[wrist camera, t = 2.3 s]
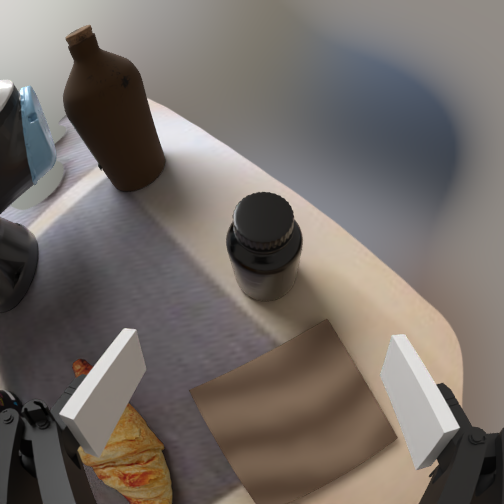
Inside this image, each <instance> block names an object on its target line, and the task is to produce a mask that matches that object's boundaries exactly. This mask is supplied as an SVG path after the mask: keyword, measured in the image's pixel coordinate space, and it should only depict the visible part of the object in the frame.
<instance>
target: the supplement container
mask: <svg viewBox="0 0 504 504" xmlns="http://www.w3.org/2000/svg"><path fill="white" fill-rule="evenodd" d="M9 408H11V409H15V410H16V411H17V412H18V414H19V415H20V417H23V418H25V417H24V416H23V414H22V413H21V412H22V408H23V406H22V404H21V402H20V400H19V399H18V397H17V396H16V395H15V394H13V393H12V392H10V391H5V390H0V413H1V412H2V411H3V410H5V409H9Z"/></svg>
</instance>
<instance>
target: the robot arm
mask: <svg viewBox="0 0 504 504" xmlns="http://www.w3.org/2000/svg"><path fill="white" fill-rule="evenodd" d="M55 162H56V149H55V145H54V142H53V139H52V136H51V133H50V130H49V127H48V124H47V121H46V118H45V116H44V113H43V110H42V108H41V105H40V103H39V100H38V98H37V95H36V93H35V92H34V90H33V88H32V87H31V86H26V87H23V88H21V89H20V91H17V89H16V87H15V86H14V84H13V82H12V81H11V80H0V214H1V213H2V212H3V211H4V210H5V209H6V208H7V207H8V206H10V205H11V204H12V203H13V202H14V201H15V200H16V199H17V198H18V197H19V196H21V195H22V194H23V193H24V192H25V191H26V190H28V189H29V188H30V187H31V186H32V185H36V184H37V181H38V180H39V179H40V178H41V177H43V176H44V175H45V174H46V173H47V172H48V171H49V170H51V169H52V167H53V166H54V164H55ZM37 258H38V246H37V241H36V238H35V236H34V235H33V234H32V233H31V232H30V231H29V230H28V229H27V228H26V227H25V226H23V225H21V224H18V223H13V222H10V221H8V220H6V219H4V218H1V217H0V312H6V311H8V310H10V309H12V308H13V307H15V306H16V305H17V304H18V303H19V302H20V300H21V299H22V298H23V296H24V295H25V293H26V292H27V290H28V288H29V286H30V284H31V281H32V279H33V276H34V273H35V269H36V265H37ZM146 370H147V369H146V365H145V361H144V358H143V354H142V350H141V346H140V342H139V338H138V334H137V330H135V329H127V328H124V329H123V330H122V331H121V333H120V334H119V335H118V336H117V338H116V339H115V340H114V341H113V343H112V344H111V345H110V346H109V348H108V349H107V350H106V352H105V353H104V354H103V355H102V357H101V358H100V359H99V361H98V362H97V363H96V364H95V366H94V367H93V368H92V370H91V371H90V372H89V374H88V375H85V374H81V375H80V376H78V377H77V378H75V379H74V380H73V381H72V383H71V384H70V385H69V388H67V389H66V390H65V392H64V393H63V394H62V396H61V397H60V398H59V399H58V401H57V402H56V403H55V405H54V406H53V407H52V409H51V410H49V408H48V406H47V405H46V403H45V402H44V401H42V400H39V399H33V400H31V401H28V402H27V403H26V404H25V405H24V406H23V408H22V412H21V413H22V414H23V416H24V417H25V418H23V417H20V415H19V414H18V412H17V411H16V410H15V409H11V408H9V409H5V410H3V411H2V412H1V413H0V504H97V503H96V501H95V498H94V496H93V493H92V490H91V488H90V485H89V482H88V479H87V476H86V473H85V470H84V467H83V464H82V460H81V457H80V454H79V452H78V451H77V450H78V449H79V447H80V446H81V448H82V449H83V450H84V452H85V453H87V454H90V455H92V456H95V457H98V458H100V456H101V454H102V452H103V450H104V448H105V446H106V444H107V442H108V440H109V438H110V436H111V434H112V432H113V431H114V429H115V427H116V425H117V423H118V421H119V419H120V417H121V415H122V413H123V412H124V410H125V408H126V406H127V404H128V402H129V400H130V399H131V397H132V395H133V393H134V391H135V389H136V388H137V386H138V384H139V382H140V380H141V379H142V377H143V375H144V373H145V371H146ZM380 376H381V379H382V381H383V384H384V386H385V389H386V391H387V393H388V396H389V398H390V401H391V403H392V406H393V408H394V411H395V414H396V416H397V419H398V421H399V424H400V427H401V429H402V432H403V435H404V438H405V440H406V443H407V446H408V449H409V452H410V455H411V457H412V460H413V463H414V466H415V469H416V470H419V469H422V468H425V467H429V466H431V465H432V464H433V463H434V461H435V460H436V459H437V460H438V463H439V465H438V466H437V467H436V468H435V469H434V470H433V472H432V473H431V474H430V475H429V477H431V476H432V475H433V476H432V478H431V481H430V483H429V485H428V487H427V489H426V491H425V493H424V495H423V497H422V499H421V501H420V503H419V504H504V428H503V429H502V430H501V432H500V433H492V434H486V433H485V432H484V431H483V430H482V429H480V428H478V427H472V425H471V423H470V422H469V420H468V418H467V416H466V415H465V413H464V411H463V409H462V408H461V406H460V405H459V403H458V401H457V399H455V396H454V394H453V393H452V391H451V389H450V388H448V387H447V386H446V385H445V384H443V383H441V384H435V382H434V380H433V379H432V377H431V375H430V374H429V372H428V370H427V369H426V367H425V365H424V364H423V362H422V361H421V359H420V357H419V356H418V354H417V353H416V351H415V349H414V348H413V346H412V345H411V343H410V342H409V340H408V339H407V337H406V336H405V334H399V335H392V336H391V340H390V343H389V347H388V350H387V354H386V357H385V361H384V364H383V367H382V370H381V373H380Z"/></svg>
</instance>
